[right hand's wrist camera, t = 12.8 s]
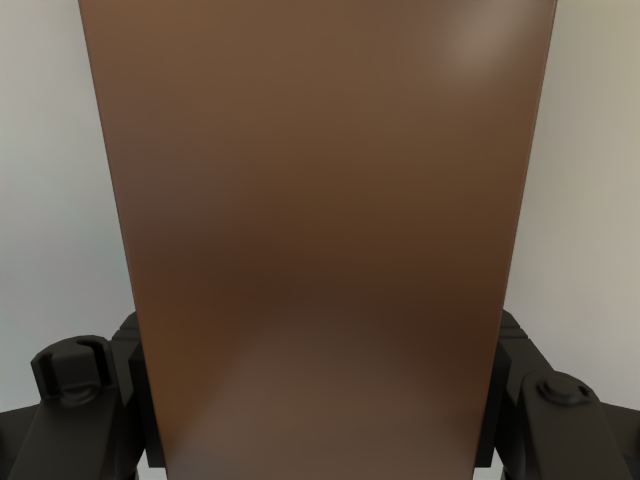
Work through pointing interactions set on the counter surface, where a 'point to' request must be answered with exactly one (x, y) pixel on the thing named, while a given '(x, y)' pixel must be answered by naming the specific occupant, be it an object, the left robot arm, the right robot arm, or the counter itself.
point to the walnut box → (318, 222)
